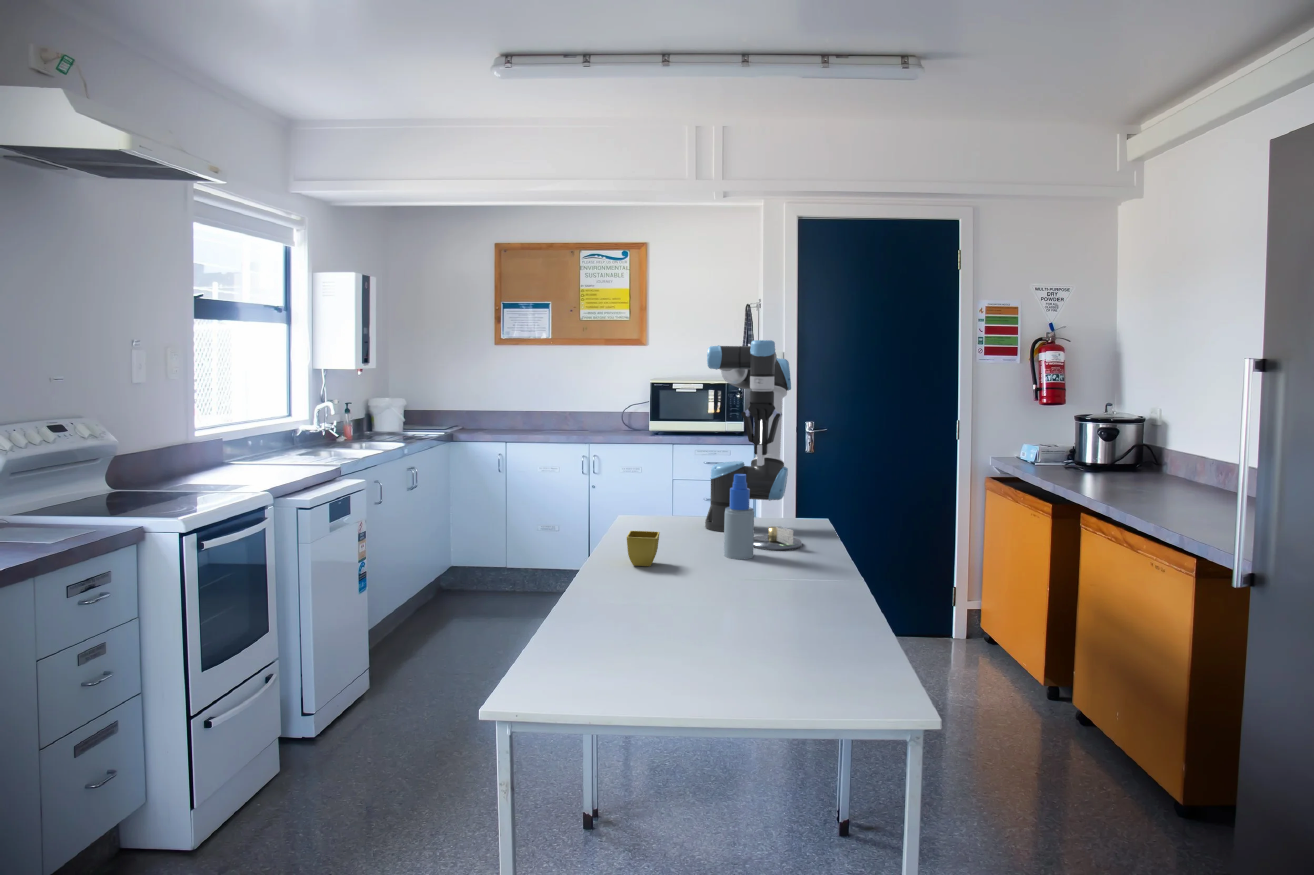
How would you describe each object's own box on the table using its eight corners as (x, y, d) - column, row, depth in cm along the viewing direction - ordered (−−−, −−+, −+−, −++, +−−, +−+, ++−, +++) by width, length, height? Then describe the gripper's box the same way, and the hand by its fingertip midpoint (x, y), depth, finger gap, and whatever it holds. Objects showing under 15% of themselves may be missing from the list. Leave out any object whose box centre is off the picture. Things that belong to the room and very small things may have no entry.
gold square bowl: (659, 561, 238) (659, 531, 238) (656, 568, 230) (656, 537, 229) (630, 560, 239) (630, 530, 238) (626, 567, 231) (626, 536, 230)
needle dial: (765, 539, 262) (765, 525, 261) (776, 538, 264) (776, 523, 263) (784, 546, 252) (785, 531, 252) (796, 544, 254) (796, 530, 254)
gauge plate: (754, 537, 272) (754, 532, 271) (805, 541, 266) (805, 536, 266) (743, 548, 256) (743, 543, 255) (796, 552, 250) (796, 548, 250)
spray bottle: (751, 552, 250) (753, 472, 248) (754, 559, 241) (756, 476, 239) (723, 552, 250) (724, 472, 248) (724, 559, 241) (726, 476, 239)
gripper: (738, 390, 250) (736, 465, 253) (778, 391, 245) (776, 468, 248) (746, 388, 257) (744, 461, 260) (785, 390, 251) (784, 464, 254)
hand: (760, 464), depth 254 cm, fingers closed
